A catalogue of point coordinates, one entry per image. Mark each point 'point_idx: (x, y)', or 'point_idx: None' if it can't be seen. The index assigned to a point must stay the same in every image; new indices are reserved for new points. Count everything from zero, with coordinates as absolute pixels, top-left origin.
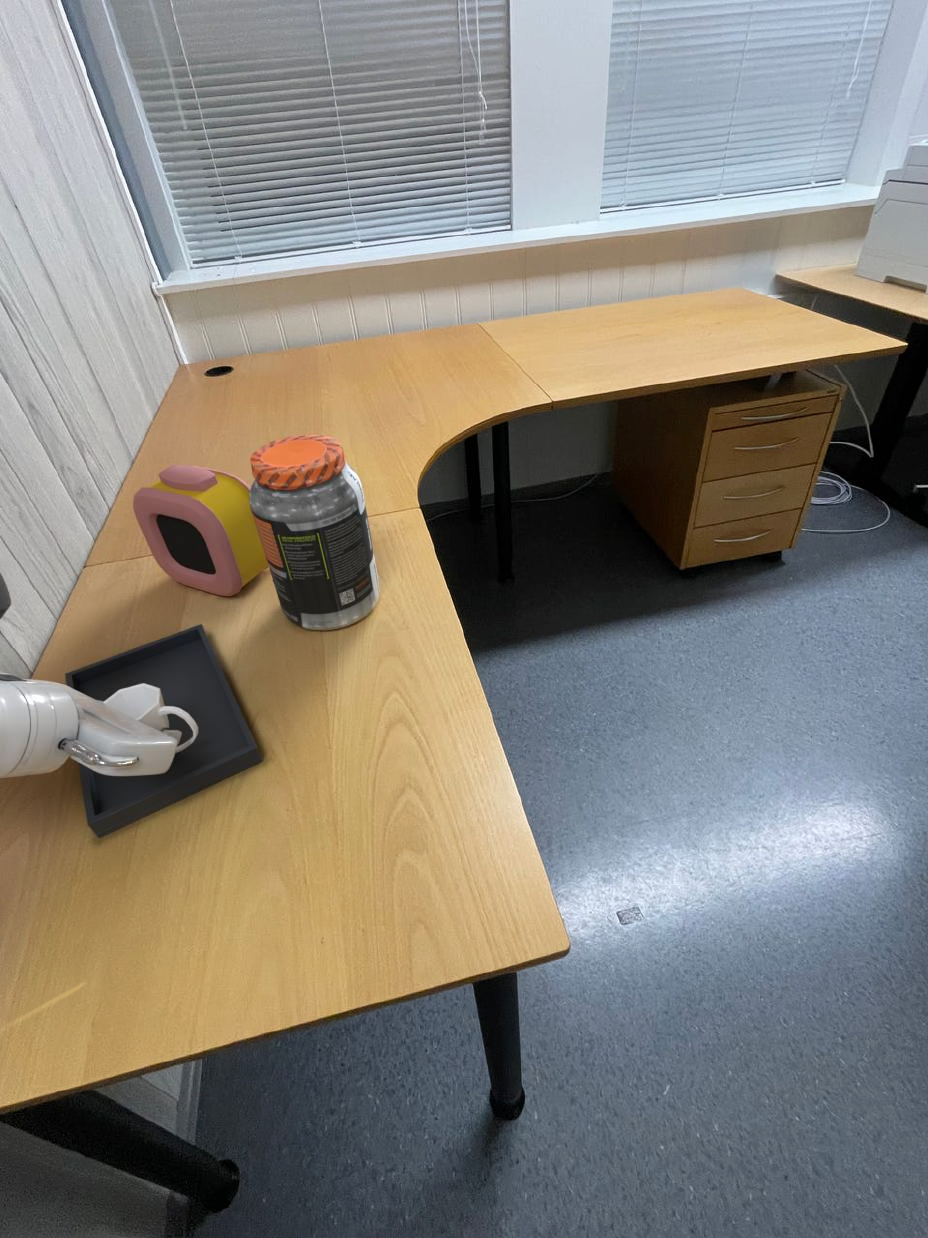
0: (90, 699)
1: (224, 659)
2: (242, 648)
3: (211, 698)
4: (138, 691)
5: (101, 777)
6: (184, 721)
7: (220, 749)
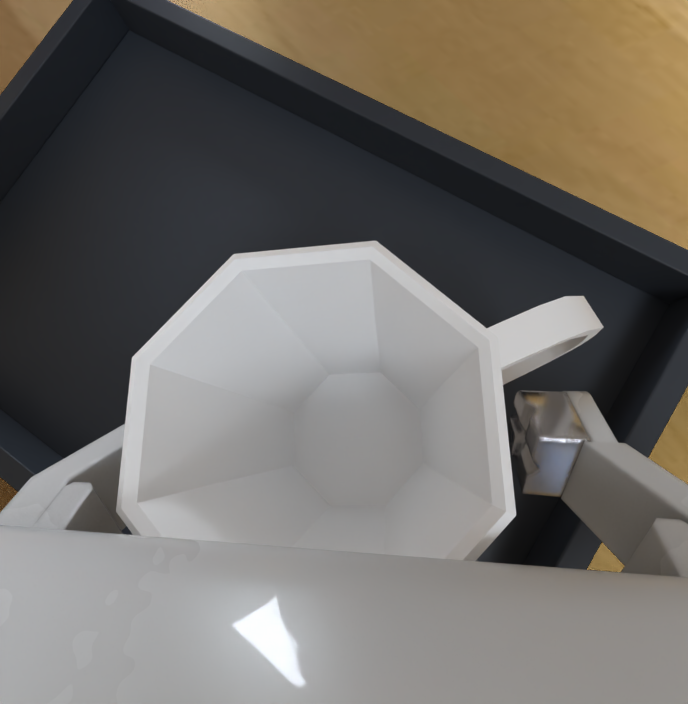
0: (47, 593)
1: None
2: (269, 10)
3: (346, 189)
4: (233, 309)
5: None
6: None
7: None
